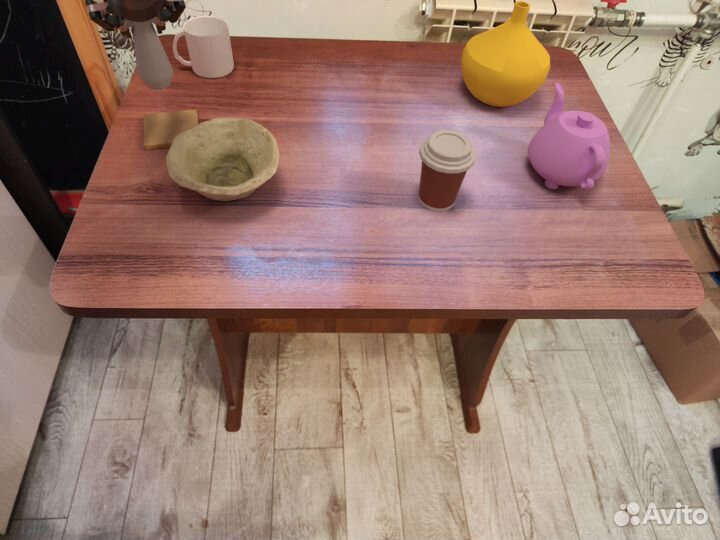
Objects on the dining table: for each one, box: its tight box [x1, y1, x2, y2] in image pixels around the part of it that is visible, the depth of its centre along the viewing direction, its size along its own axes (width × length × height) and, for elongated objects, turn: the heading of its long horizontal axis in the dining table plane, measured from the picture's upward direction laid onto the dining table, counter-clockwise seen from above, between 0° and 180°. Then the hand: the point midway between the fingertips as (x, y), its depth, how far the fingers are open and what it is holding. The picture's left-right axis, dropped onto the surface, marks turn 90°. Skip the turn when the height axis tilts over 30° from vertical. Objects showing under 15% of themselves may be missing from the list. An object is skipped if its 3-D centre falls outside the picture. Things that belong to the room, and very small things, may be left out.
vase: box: [460, 0, 551, 108], centre depth 101 cm, size 18×18×19 cm
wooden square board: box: [143, 108, 200, 151], centre depth 93 cm, size 10×10×1 cm
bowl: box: [165, 117, 280, 202], centre depth 80 cm, size 14×18×15 cm
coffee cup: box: [417, 129, 477, 212], centre depth 81 cm, size 9×9×12 cm
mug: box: [172, 15, 235, 80], centre depth 104 cm, size 12×9×9 cm
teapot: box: [527, 81, 611, 191], centre depth 88 cm, size 20×14×12 cm
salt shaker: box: [131, 20, 174, 91], centre depth 80 cm, size 6×6×13 cm
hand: (142, 29), depth 80 cm, fingers closed on salt shaker, 4 cm apart
